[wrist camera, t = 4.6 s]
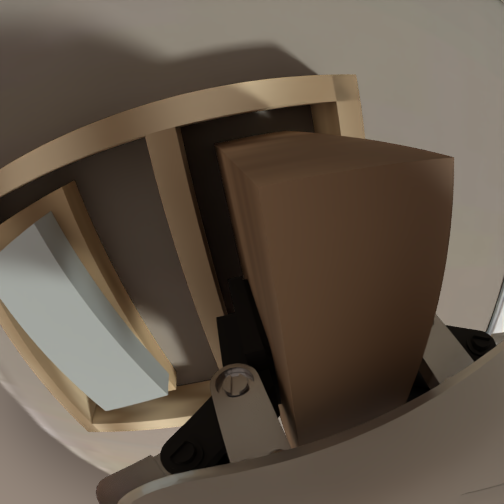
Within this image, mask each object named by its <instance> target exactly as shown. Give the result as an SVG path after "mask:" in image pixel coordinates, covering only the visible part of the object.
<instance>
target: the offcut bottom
mask: <svg viewBox="0 0 504 504" xmlns="http://www.w3.org/2000/svg"><path fill="white" fill-rule="evenodd" d="M50 211H51V212H52V214H53V215H54V217H55V219H56V221H57V223H58V224H59V226H60V228H61V230H62V231H63V233H64V235H65V236H66V238H67V240H68V241H69V243H70V245H71V246H72V248H73V250H74V251H75V253H76V254H77V256H78V258H79V259H80V261H81V262H82V264H83V265H84V267H85V268H86V270H87V271H88V273H89V274H90V276H91V277H92V279H93V280H94V282H95V283H96V284H97V286H98V287H99V289H100V290H101V292H102V293H103V294H104V296H105V297H106V298H107V300H108V301H109V302H110V304H111V305H112V306H113V308H114V309H115V310H116V312H117V313H118V314H119V316H120V317H121V318H122V320H123V321H124V322H125V323H126V325H127V326H128V327H129V328H130V330H131V331H132V332H133V333H134V334H135V336H136V337H137V338H138V339H139V341H140V342H141V343H142V344H143V345H144V346H145V348H146V349H147V350H148V351H149V352H150V353H151V354H152V356H153V357H154V358H155V359H156V360H157V361H158V362H159V363H160V365H161V366H162V367H163V368H164V369H165V370H166V371H167V372H168V373H169V384H168V391H172V390H176V374H177V372H176V371H175V369H174V368H173V366H172V365H171V363H170V362H169V360H168V359H167V357H166V356H165V354H164V353H163V351H162V350H161V348H160V347H159V345H158V344H157V342H156V341H155V339H154V338H153V336H152V334H151V333H150V331H149V330H148V328H147V326H146V325H145V323H144V321H143V320H142V318H141V316H140V315H139V313H138V311H137V310H136V308H135V306H134V304H133V303H132V301H131V299H130V297H129V296H128V294H127V292H126V290H125V288H124V286H123V285H122V283H121V281H120V279H119V277H118V275H117V273H116V271H115V269H114V268H113V266H112V264H111V262H110V260H109V258H108V256H107V254H106V252H105V250H104V247H103V245H102V243H101V241H100V239H99V237H98V235H97V233H96V230H95V228H94V226H93V224H92V221H91V219H90V217H89V215H88V212H87V210H86V207H85V205H84V203H83V200H82V198H81V195H80V193H79V190H78V188H77V185H76V182H75V180H74V181H72V182H70V183H69V184H67V185H65V186H63V187H61V188H59V189H57V190H55V191H54V192H52V193H50V194H48V195H46V196H45V197H43V198H41V199H40V200H38V201H36V202H35V203H33V204H31V205H30V206H28V207H26V208H25V209H23V210H21V211H20V212H18V213H17V214H15V215H14V216H12V217H11V218H9V219H8V220H6V221H5V222H3V223H2V224H0V251H2V250H3V249H4V248H5V247H6V246H7V245H8V244H10V243H11V242H12V241H13V240H14V239H15V238H17V237H18V236H19V235H20V234H21V233H23V232H24V231H25V230H26V229H27V228H29V227H30V226H31V225H32V224H34V223H35V222H36V221H38V220H39V219H40V218H42V217H43V216H45V215H46V214H47V213H49V212H50Z"/></svg>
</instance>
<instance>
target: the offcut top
mask: <svg viewBox="0 0 504 504" xmlns="http://www.w3.org/2000/svg"><path fill="white" fill-rule="evenodd" d="M0 299H1V300H2V302H3V303H4V304H5V306H6V307H7V309H8V310H9V311H10V313H11V314H12V315H13V317H14V318H15V319H16V320H17V322H18V323H19V324H20V326H21V327H22V328H23V329H24V331H25V332H26V333H27V334H28V335H29V337H30V338H31V339H32V340H33V341H34V342H35V344H36V345H37V346H38V347H39V348H40V349H41V350H42V351H43V353H44V354H45V355H46V356H47V357H48V358H49V359H50V360H51V361H52V362H53V363H54V364H55V365H56V366H57V367H58V368H59V369H60V370H61V371H62V372H63V373H64V374H65V375H66V376H67V377H68V378H69V379H70V380H71V381H72V382H73V383H74V384H75V385H76V386H77V387H78V388H79V389H80V390H82V391H83V392H84V393H85V394H86V395H87V396H88V397H89V398H91V399H92V400H93V401H94V402H95V403H96V404H98V405H99V406H100V407H101V408H102V409H104V410H105V411H109V410H113V409H117V408H122V407H126V406H130V405H134V404H138V403H141V402H145V401H149V400H153V399H156V398H160V397H163V396H167V395H168V384H169V373H168V372H167V371H166V370H165V369H164V368H163V367H162V366H161V365H160V363H159V362H158V361H157V360H156V359H155V358H154V357H153V356H152V354H151V353H150V352H149V351H148V350H147V349H146V348H145V346H144V345H143V344H142V343H141V342H140V341H139V339H138V338H137V337H136V336H135V334H134V333H133V332H132V331H131V330H130V328H129V327H128V326H127V325H126V323H125V322H124V321H123V320H122V318H121V317H120V316H119V314H118V313H117V312H116V310H115V309H114V308H113V306H112V305H111V304H110V302H109V301H108V300H107V298H106V297H105V296H104V294H103V293H102V292H101V290H100V289H99V287H98V286H97V284H96V283H95V282H94V280H93V279H92V277H91V276H90V274H89V273H88V271H87V270H86V268H85V267H84V265H83V264H82V262H81V261H80V259H79V258H78V256H77V254H76V253H75V251H74V250H73V248H72V246H71V245H70V243H69V241H68V240H67V238H66V236H65V235H64V233H63V231H62V230H61V228H60V226H59V224H58V223H57V221H56V219H55V217H54V215H53V214H52V212H51V211H50V212H49V213H47V214H46V215H45V216H43V217H42V218H40V219H39V220H38V221H36V222H35V223H34V224H32V225H31V226H30V227H29V228H27V229H26V230H25V231H24V232H23V233H21V234H20V235H19V236H18V237H17V238H15V239H14V240H13V241H12V242H11V243H10V244H8V245H7V246H6V247H5V248H4V249H3V250H2V251H0Z"/></svg>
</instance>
